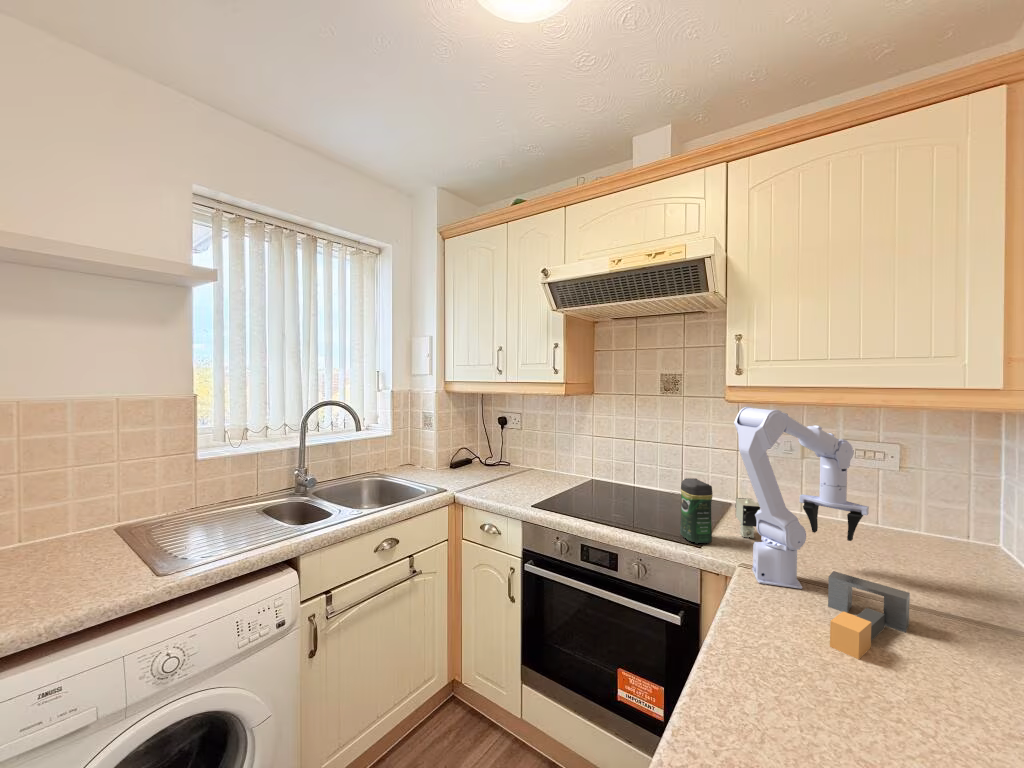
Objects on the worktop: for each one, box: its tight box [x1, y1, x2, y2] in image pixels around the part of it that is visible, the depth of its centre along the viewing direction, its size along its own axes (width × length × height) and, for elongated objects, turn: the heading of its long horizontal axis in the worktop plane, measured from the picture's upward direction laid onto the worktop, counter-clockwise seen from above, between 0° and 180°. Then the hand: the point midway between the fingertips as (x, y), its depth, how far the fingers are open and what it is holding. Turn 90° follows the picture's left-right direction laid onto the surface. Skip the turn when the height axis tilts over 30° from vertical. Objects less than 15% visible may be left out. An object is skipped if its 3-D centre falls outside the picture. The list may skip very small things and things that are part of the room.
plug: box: [829, 607, 885, 660], centre depth 86 cm, size 16×4×5 cm, turn 124°
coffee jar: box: [679, 477, 714, 544], centre depth 137 cm, size 10×8×19 cm
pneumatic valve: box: [734, 497, 760, 539], centre depth 139 cm, size 6×12×12 cm, turn 167°
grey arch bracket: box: [827, 570, 911, 633], centre depth 94 cm, size 4×13×7 cm, turn 41°
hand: (831, 535), depth 115 cm, fingers open, 7 cm apart
